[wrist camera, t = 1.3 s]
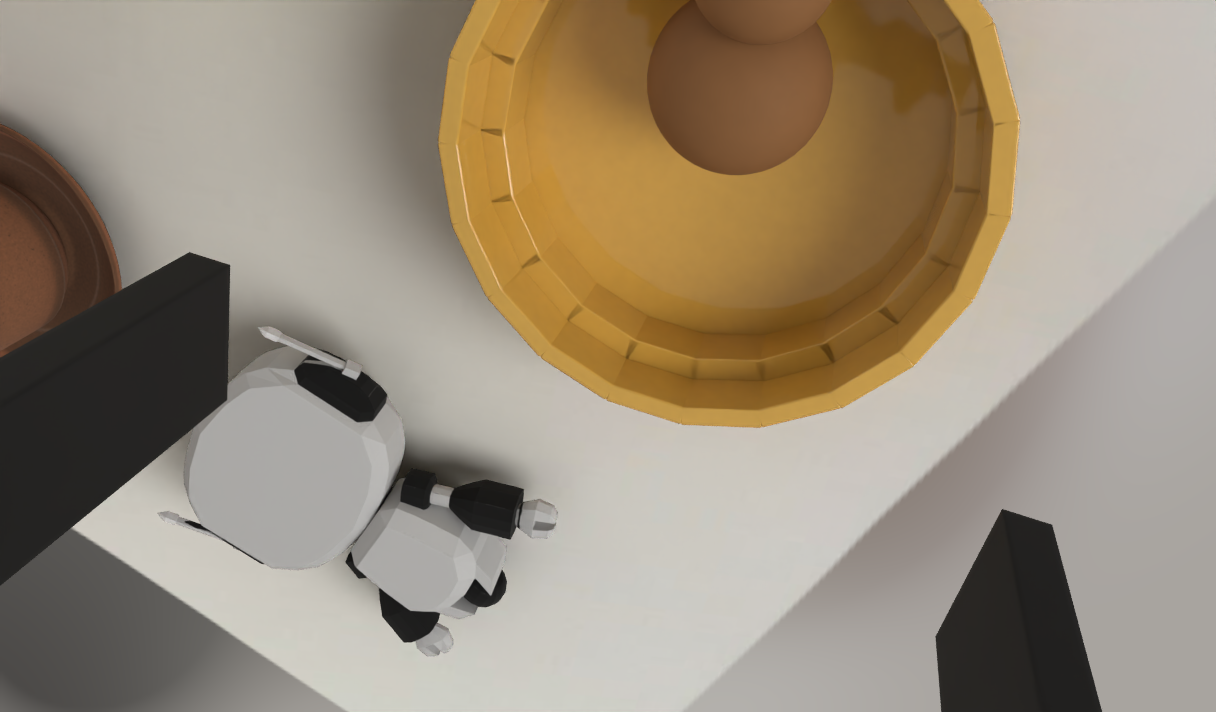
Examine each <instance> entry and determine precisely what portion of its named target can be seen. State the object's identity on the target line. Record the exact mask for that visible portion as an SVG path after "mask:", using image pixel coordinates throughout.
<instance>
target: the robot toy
mask: <svg viewBox="0 0 1216 712" xmlns="http://www.w3.org/2000/svg"><path fill="white" fill-rule="evenodd" d="M258 329H259V330H260V331H261V333H262V334H263V336H264V337H266V338H268V339H270V340H272V341H275V342H277V341H279V342H281V343H283V344H286V345H288V346H285V347H281V348H278V349H274V350H270V351H267V352H265V353H264V354H262V355H260V356H259V357H257V358H256V359H255V360H254V361H252V362H251V363H250V364H249V365H248V366H246V367H245V368H244V369H243V370H242V371H241V372H240V373H239V374H238V375H237V376H236V377H235V378H233V379H232V380H231V381H230V382H229V383H228V389H227V401H226V402H224V403H223V404H222V405H221V406H220V407H218V408H217V409H216V410H215V411H213V412H212V413H211V414H210V415H209V416H207V417H206V418H205V419H204V420H202V421H201V422H200V423H199V424H197V425H196V426H195V427H194V428H193V431H192V435H191V438H190V442H189V445H188V449H187V453H186V458H185V467H184V485H185V488H186V492H187V495H188V499H189V502H190V504H191V506H192V508H193V510H194V512H195V514H196V515H197V517H198V519H199V521H200V523H201V524H198V523H195V522H193V521H190V520H187V519H184V518H182V517H179V515H178V514H175V513H172V512H170V511H166V512H160V513H158V515H159V516H160V517H161V519H162V520H163V521H164V522H167V523H170V524H173V525H175V524H178V525H180V526H183V527H186V528H189V529H192V530H194V531H197V532H200V533H203V534H206V535H208V536H211V537H214V538H217V539H219V540H222V541H225V542H227V543H228V544H230V545H231V546H233V548H234V549H237V550H240V551H241V552H243V553H245V554H246V555H248V556H249V557H251V558H253V559H254V560H256V561H258V562H259V563H261V564H265V565H267V566H269V567H270V568H273V569H288V570H302V569H307V568H313V567H318V566H320V565H322V564H325V563H327V562H329V561H330V560H332V559H333V558H335V557H336V556H338V555H339V554H341V553H342V552H344V551H345V550H346V549H347V548H348V547H349V546H350V545H351V544H352V543H354V542H355V541H356V540H357V541H356V542H355V544H354V546H353V547H352V549H351V552H350V553H349V555H348V557H347V560H346V564H347V565H348V566H349V567H350V568H351V570H352V571H353V572H354V573H355V574H356V576H357V577H358V578H368V579H370V580H371V581H372V582H373V583H374V584H376V585H377V586H378V588H379V595H380V604H381V610H382V617H383V618H384V619H385V620H386V621H387V623H388V624H389V625H390V626H391V627H392V629H393V630H394V631H395V632H396V634H397V635H398V636H399V637H400V638H401V640H402V641H403V642H414V641H416V646H417V649H418V650H420V651H421V652H422V653H424V654H425V655H426V656H437V655H439V653H440V651H441V652H443V653H446V652H449V650H450V649H451V648H452V645H453V638H452V636H451V634H450V632H449V630H448V628H447V627H445V626H443V625H441V624H438V623H437V622H438V620H439V615H440V613H441V614H444V615H447V616H450V617H454V618H457V619H461V618H464V617H468V616H471V615H474V614H475V612H476V610H477V608H478V607H488V606H491V605H493V604H496V603H497V602H498V601H499V600H500V599H501V598H502V596H503V595H504V593H505V591H506V585H507V580H506V577H505V574H504V572H503V571H502V568H503V565H504V563H505V559H506V547H507V546H506V545H505V544H504V543H503V542H502V541H501V539H500V538H499V537H502V538H506V539H511V537H512V535H513V533H514V531H515V529H516V526H517V527H518V528H519V529H520V530H522V531H523V532H524V533H525V534H527V535H528V536H529V537H531V538H543V539H547V538H548V537H550V536H551V535H552V534H553V533H554V531H555V527H556V523H555V522H556V519H557V515H558V512H557V510H556V508H555V506H554V505H552V504H550V503H547V502H545V501H543V500H541V499H537V500H532V501H527V502H523V494H524V489H522V488H518V487H514V486H510V485H506V484H501V483H497V482H493V481H489V480H482V481H478V482H474V483H470V484H466V485H463V486H460V487H457V488H451V487H447V486H443V485H439V484H437V479H436V476H435V474H434V473H430V472H425V471H421V470H417V469H413V468H412V469H411V470H410V471H409V472H408V474H407V476H406V478H402V479H399V480H398V481H397V482H396V484H395V485H394V486H393V483H394V481H395V479H396V477H397V474H398V472H399V470H400V466H401V462H402V458H403V455H404V449H405V435H404V429H403V423H402V419H401V417H400V416H399V414H398V412H397V411H396V409H395V407H394V406H393V404H392V403H391V401H390V399H389V398H388V397H387V394H386V392H385V391H384V390H383V389H382V387H381V386H380V385H378V384H377V383H376V382H374V381H373V380H372V379H371V378H370V377H369V376H368V375H366V374H365V373H363V372H362V371H361V368H362V365H360V364H358V363H356V362H354V361H351V360H349V359H348V360H347V361H345V360H343V359H342V358H340V357H337V356H335V355H333V354H331V353H329V352H326V351H323V350H320V349H315V348H313V347H311V346H309V345H306V344H304V343H302V342H300V341H297V340H295V339H293V338H291V337H288V336H286V335H284V334H282V333H281V331H279V330H277V329H275V328H272V327H270V326H267V327H258ZM392 486H393V488H392ZM391 488H392V489H391ZM390 490H391V491H390ZM522 502H523V503H522Z"/></svg>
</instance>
